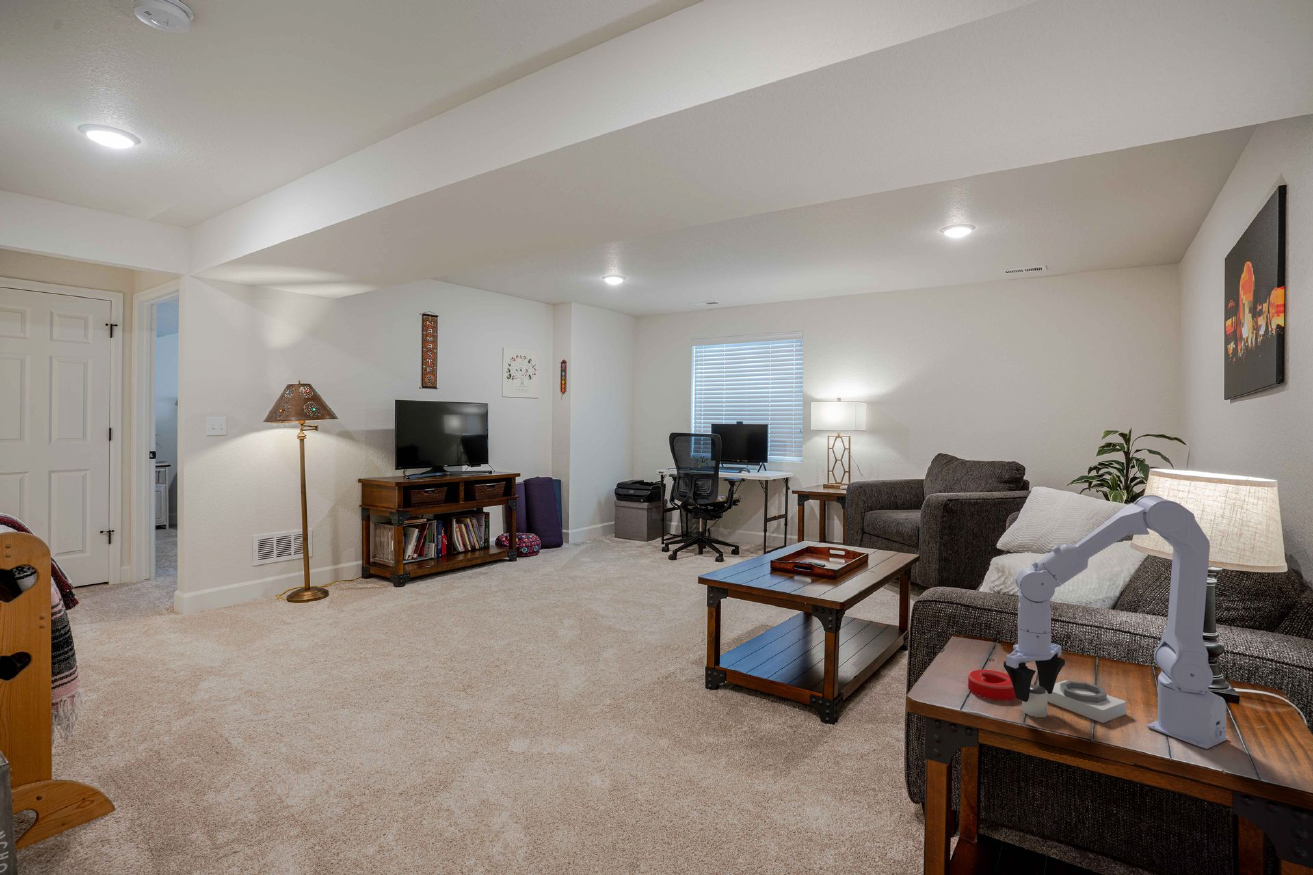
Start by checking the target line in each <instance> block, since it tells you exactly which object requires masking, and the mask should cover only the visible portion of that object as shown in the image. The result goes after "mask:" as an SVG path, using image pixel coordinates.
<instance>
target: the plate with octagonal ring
mask: <svg viewBox="0 0 1313 875" xmlns="http://www.w3.org/2000/svg"><path fill="white" fill-rule="evenodd" d="M1047 703H1050V704H1052V705H1056V706H1057V707H1060V708H1063V709H1065V710H1068V711H1071V712H1073V713H1076V714H1078V715H1081V716H1083V717H1086V718H1088V719H1091V720H1094V721H1097V722H1100V723H1102V724H1104V723H1106V722H1110V721H1112V720H1115V719H1117V718H1120V717H1122V716H1125V715H1127V700H1123V699H1121V698H1118V697H1114V696H1113V695H1112V696H1111V695H1109V694H1107V692H1106V691H1105V689H1104V688H1102V687H1101V686H1098V685H1096V684H1095V685H1094V684H1092V683H1089V682H1086V681H1075V680H1066V679H1064V680H1061V681H1059V682H1055V685H1054V689H1053V692H1052V694H1048V693H1047Z"/></svg>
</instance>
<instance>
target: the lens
mask: <svg viewBox="0 0 1313 875" xmlns="http://www.w3.org/2000/svg"><path fill="white" fill-rule="evenodd" d="M1021 706H1022V707H1021V711H1023V712H1024V713H1026V714H1028V715H1027V716H1029V715H1030V716H1029V717H1032V716H1036V717H1035V718H1037V717H1044V718H1046V717H1045V716H1047V717H1048V702H1047V691H1046V690H1045V688H1043V687H1041V686H1039V684H1033V683H1031V685H1030V694H1029V699H1028V702H1024V701H1021ZM1023 712H1022V713H1023ZM1024 713H1023V714H1024ZM1026 714H1025V715H1026Z"/></svg>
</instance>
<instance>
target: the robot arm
mask: <svg viewBox="0 0 1313 875" xmlns="http://www.w3.org/2000/svg"><path fill="white" fill-rule="evenodd" d="M1148 529H1149V530H1151V531H1153V532H1155V533H1156V534H1158V535H1159V536H1160V538H1162V539H1163V540H1164V541H1166V543H1168V544H1169V545H1170V547H1172V549H1173V550H1172V559H1171V560H1172V561H1171V562H1172V563H1171V576H1170V584H1169V585H1170V586H1169V587H1170V588H1169V597H1168V599H1169V600H1168V610H1167V625H1166V629H1165V630H1164V632H1163V633H1162V634H1161V640H1160V642H1159V645H1158V646H1157V647H1156V648H1155V651H1154V654H1153V658H1154V659H1153V660H1154V662H1155V664H1156V665H1157V667H1158V668H1159V669H1160V671H1161V672H1160V674H1158V677H1157V720H1155V721H1153V722H1150V723H1148V724H1147V725H1146V727H1147V728H1149V729H1150V730H1153V731H1157V732H1159V733H1163V734H1164V735H1166V736H1170V737H1173V738H1175V739H1178V740H1181V741H1183V742H1186V743H1188V744H1191V745H1194V746H1196V747H1199V748H1202V749H1205V750H1208V749H1210V748H1212V747H1214V746H1216V745H1218V744H1220V743H1222V742H1225V741H1227V740H1228V739H1229V736H1228V735H1227V704H1226V700H1225V699H1224V698H1223V697H1222V696H1220V695H1218V694H1215V693H1213V692H1212V691H1210V690H1209V689H1208V688H1209V687H1210V686H1211V685H1212V683H1213V680H1214V673H1213V671H1212V668H1211V666H1210V665H1209V664H1210V663H1209V652H1208V650H1207V647H1206V643H1205V642H1204V639H1203V635H1204V622H1205V612H1206V600H1207V587H1208V586H1207V585H1208V577H1209V576H1208V574H1209V562H1210V551H1211V550H1210V549H1211V544H1210V540H1209V538H1208V537H1207V535H1206V533H1205V532H1204V531H1203V529H1202V528H1201V526H1200V524H1199V523H1198V521H1197V520H1196V517H1195V514H1194V513H1193V512H1192V511H1191V510H1189V509H1188V508H1187V507H1185V506H1183V505H1182V504H1180V503H1178V502H1177V501H1173V500H1169V499H1165V498H1163V497H1161V496H1159V495H1154V494H1147V495H1143V496H1141V497H1139V498H1137V499H1136V500H1135V501H1134V503H1132V502H1131V503H1129V504H1127V505H1125V506H1124V507H1123V508H1121V509H1120V510H1119V511H1118V512H1116V513H1115V514H1114V515H1113V516H1111V517H1110V518H1109V519H1108V520H1105V522H1103V523H1102V524H1101V525H1099V526H1098V527H1097V528H1095V529H1094V530H1093V531H1091V532H1090V533H1089V534H1087V535H1086V536H1085V537H1083V538H1082V539H1080V541H1078V542H1077V543H1075V544H1068V543H1064V544H1062V545H1061V546H1058V545H1057V544H1056V545H1055V546H1053V547H1051V551H1052V552H1050V553H1049V554H1047V556H1044V557H1043V558H1042V559H1041V560H1039V561H1038V562H1037V561H1036V560H1034V561H1033V562H1032V563H1031V566H1030V567H1025V568H1023V569H1021V570H1020V571H1019V572H1018V574H1017V576H1016V578H1015V579H1014V580H1015V585H1016V586H1017V588H1018V589H1019V592H1018V605H1017V624H1018V625H1017V643H1016V644H1014V645H1013V647H1012V648H1013V651H1012V652H1011V653H1010V654H1006V656H1005V660H1004V661H1003V662H1002V663H1003V666H1002V667H1003V668H1004V670H1005V671H1006V674H1008V675H1009V677H1010V679H1011V682H1012V685H1013V688H1014V692H1015V695H1016V698H1015V699H1016V700H1020V701H1021V702H1022V701H1024V702H1028V699H1029V694H1030V685H1031V684H1032V681H1033V678H1034V676H1035V674H1036V672H1037V678H1038V679H1037V680H1038V686H1041V687H1043V688H1045V690H1046V691H1047V693H1048V694H1052V692H1053V689H1054V685H1055V683H1057V678H1058V677H1059V674H1060V673H1061V671H1062V668H1063V667H1064V666H1065V665H1066V659H1064V658H1063V657H1060V656H1062V645H1060V644H1056V643H1052V608H1051V599H1052V598H1053V596H1054V595H1055V591H1056V588H1060V587H1061V586H1063V585H1065V583H1067V582H1069V581H1070V580H1072V579H1073V578H1075V577H1076V576H1078V575H1079V574H1081V573H1082V572H1084V571H1085V570H1087V568H1088V566H1089V559H1090V558H1091V557H1094V556H1095V555H1096V554H1098V553H1100V552H1102V551H1104V550H1105V549H1106V548H1108V547H1110V546H1112V545H1113V544H1115V543H1116V542H1118V541H1121V540H1122V539H1123V538H1125V537H1127V536H1135V535H1136V536H1141V535H1142V536H1143V535H1145V536H1147V535H1150V532H1149V530H1148ZM1032 662H1034V663H1035V666H1036V670H1037V671H1036V670H1034V669H1031V668H1029V667H1028V665H1027V664H1029V663H1032Z"/></svg>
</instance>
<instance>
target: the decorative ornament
mask: <svg viewBox="0 0 1313 875" xmlns="http://www.w3.org/2000/svg"><path fill="white" fill-rule="evenodd" d="M967 688H968V690H969V691H970V692H971V693H972V694H973V695H976V696H978V695H979V696H978V697H980V696H981V698H983V697H985V698H984V699H987V698H988V700H992V699H995V701H1011V700H1010V699H1013V700H1015V699H1016V695H1015V692H1014V688H1013V685H1012V682H1011V679H1010V677H1009V675H1008V673H1005V672H1002V671H997V670H994V669H993V670H992V669H976V670H975V669H974V670H972V671H970V672H969V673H968V676H967ZM1014 698H1015V699H1014Z"/></svg>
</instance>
